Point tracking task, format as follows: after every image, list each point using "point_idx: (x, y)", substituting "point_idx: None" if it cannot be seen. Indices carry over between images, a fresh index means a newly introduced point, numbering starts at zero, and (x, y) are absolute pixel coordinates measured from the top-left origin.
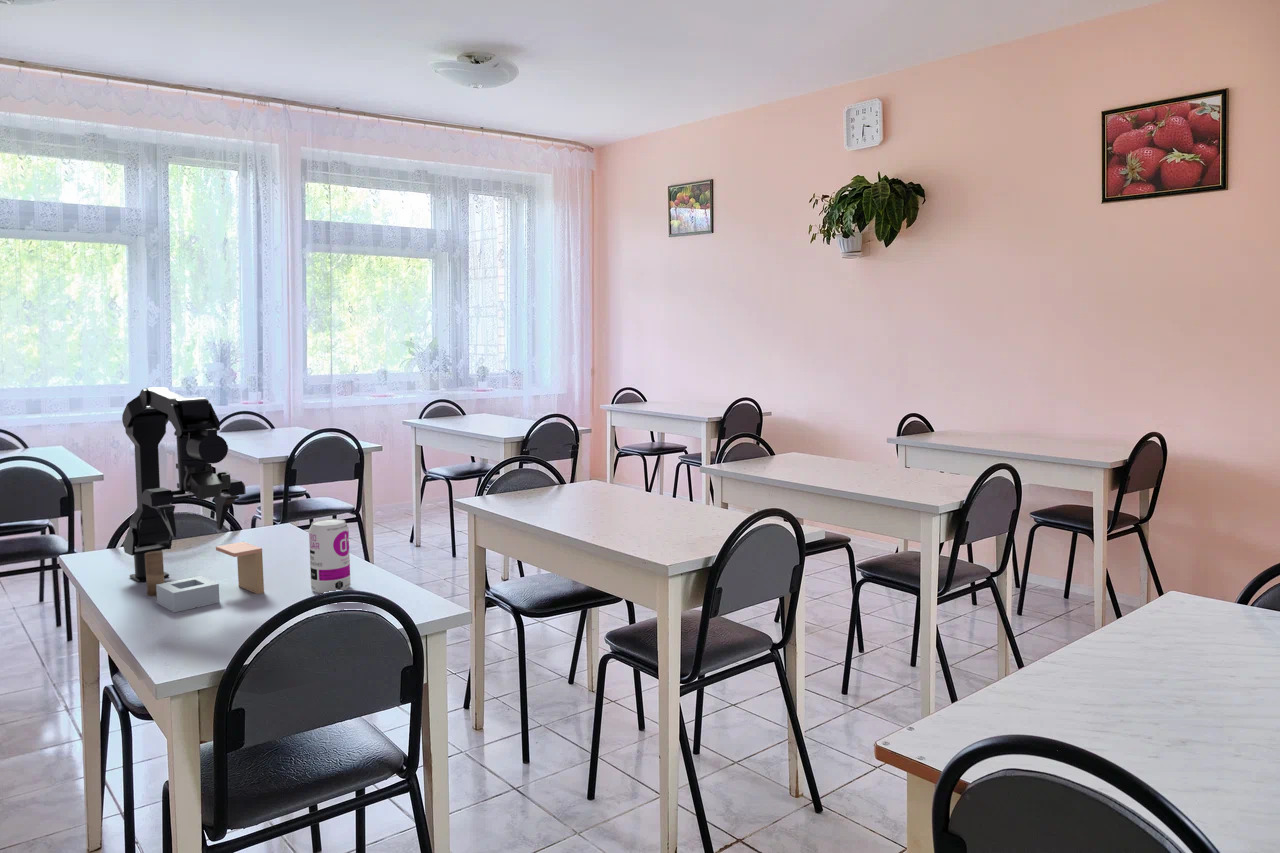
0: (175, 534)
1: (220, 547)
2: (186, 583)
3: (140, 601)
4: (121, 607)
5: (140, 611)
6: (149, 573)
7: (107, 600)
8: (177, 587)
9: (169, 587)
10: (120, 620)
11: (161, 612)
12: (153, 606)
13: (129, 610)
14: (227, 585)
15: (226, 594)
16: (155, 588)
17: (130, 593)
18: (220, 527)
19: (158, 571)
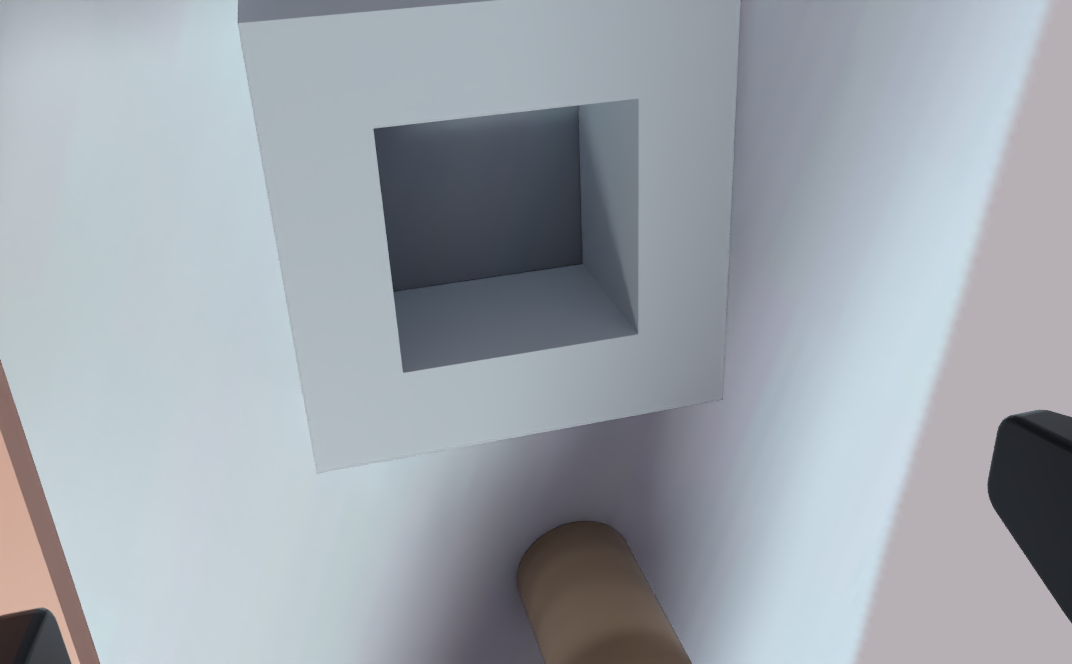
0: (1057, 425)
1: None
2: (483, 347)
3: (716, 445)
4: (854, 374)
5: (819, 188)
6: (686, 657)
7: (838, 577)
8: (561, 324)
9: (684, 225)
10: (1003, 41)
11: None
12: None
13: (854, 266)
14: None
15: (112, 237)
16: (612, 557)
17: None
18: (19, 634)
19: (630, 655)
